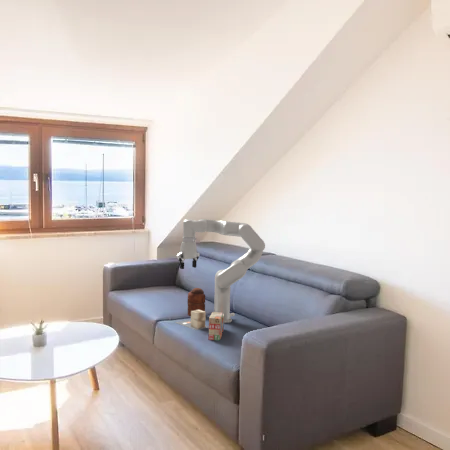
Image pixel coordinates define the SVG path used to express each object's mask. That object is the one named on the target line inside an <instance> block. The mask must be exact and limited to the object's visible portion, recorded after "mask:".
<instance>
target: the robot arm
mask: <svg viewBox="0 0 450 450" xmlns="http://www.w3.org/2000/svg"><path fill="white" fill-rule="evenodd" d="M196 232H197V233H205V232H208V233H216V234H219V235H222V236H229V237H240V238H241V239H242V240H243V241H244V242H245V243H246V244H247V246H249V249H248V251H247V252H246V253H244V254H243V255H242V256H240V257H238V258H237V259H235V260H233V261H232V262H231V263H230V265H229V267H227V268H226V269H219V270H218V271H216V273H215V276H214V298H213V299H214V303H213V304H214V305H213V306H214V307H213V312H221V313H223V314H224V324H225V323H227V324H229V323H231V322H232V321H233V319H232V318H231V317H234V316H235V315H236V314H235V312H230V309H231V308H230V307H231V304H230V303H231V286H232V285H234V284H235V283H236V282H238V281H239V280H241V279H242V278H244V277H245V276H246V273H247V271H248V270H249V269H250V268H251V267H253V266H254V265H256V264H257V263H258V262H259V261H260V259H261V258H262V255H263V251H265V249H266V243H265V241H264V239H262V237H261V236H260V235H259V234H258V233H257V232H256V231H255V229H254V228H252V226H251V225H250V224H248V223H245V222H236V221H228V220H214V219H206V218H201V219H198V220H195V219H184V220H183V221H182V242H181V244H180V248H179V249H180V250H179V253H177V255H176V257H177V261H178V262H179V268H180V269H181V270H184V269H185V261H186V260H188V259H189V260H190V259H191V260H192V261H191V262H192V263H191V265H192V268H197V261H198V259H199V258H200V254H201V253H200V252H198V250H197V242H196V240H197V237H196Z"/></svg>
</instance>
